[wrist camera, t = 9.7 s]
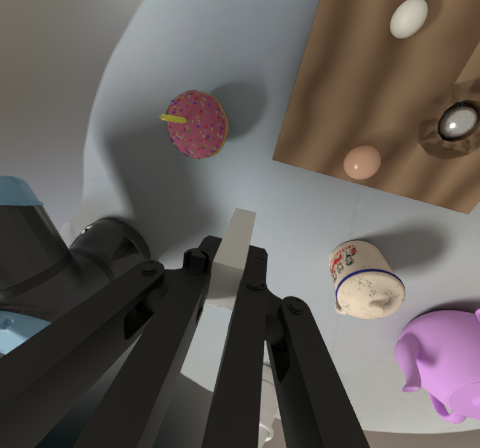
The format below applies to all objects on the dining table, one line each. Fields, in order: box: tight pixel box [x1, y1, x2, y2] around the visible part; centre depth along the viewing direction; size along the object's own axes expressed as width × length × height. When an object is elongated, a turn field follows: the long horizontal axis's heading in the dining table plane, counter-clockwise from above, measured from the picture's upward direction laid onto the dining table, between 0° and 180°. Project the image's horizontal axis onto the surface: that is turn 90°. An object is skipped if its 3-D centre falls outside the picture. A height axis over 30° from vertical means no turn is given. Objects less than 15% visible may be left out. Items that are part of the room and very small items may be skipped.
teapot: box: [395, 308, 480, 423], centre depth 38 cm, size 22×22×14 cm
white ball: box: [390, 0, 428, 38], centre depth 22 cm, size 3×3×3 cm
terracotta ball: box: [343, 145, 381, 180], centre depth 28 cm, size 4×4×4 cm
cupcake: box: [157, 90, 229, 159], centre depth 29 cm, size 9×8×12 cm
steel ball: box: [438, 106, 477, 138], centre depth 27 cm, size 4×4×4 cm
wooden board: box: [272, 0, 480, 214], centre depth 28 cm, size 28×20×2 cm
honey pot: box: [258, 365, 278, 448], centre depth 54 cm, size 13×13×18 cm
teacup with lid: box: [329, 241, 405, 319], centre depth 35 cm, size 12×9×12 cm
